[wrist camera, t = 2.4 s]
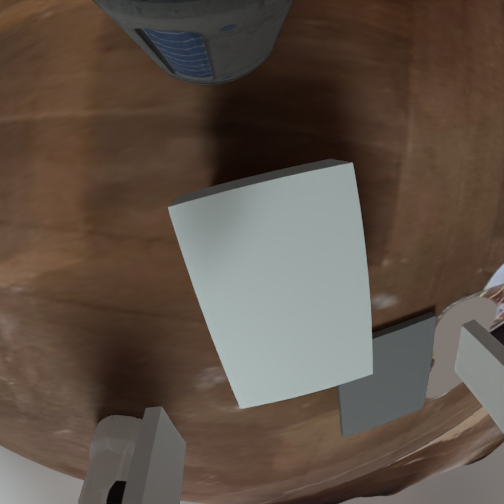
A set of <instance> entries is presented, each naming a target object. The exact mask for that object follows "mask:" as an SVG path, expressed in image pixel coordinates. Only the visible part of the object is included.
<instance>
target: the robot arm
mask: <svg viewBox="0 0 504 504" xmlns="http://www.w3.org/2000/svg"><path fill="white" fill-rule="evenodd" d="M454 371H455V372H456V373H457V375H458V376H459V377H460V378H461V379H462V380H463V382H464V383H465V384H466V386H467V387H468V388H469V389H470V391H471V392H472V393H473V394H474V396H475V397H476V398H477V399H478V401H479V402H480V403H481V404H482V406H483V407H484V408H485V410H486V411H487V412H488V413H489V415H490V416H491V417H492V419H493V420H494V421H495V423H496V424H497V425H498V427H499V428H500V429H501V431H502V432H503V433H504V346H503V345H502V344H501V343H500V342H499V341H498V340H497V339H495V338H494V337H493V336H492V335H491V334H490V333H489V332H488V331H486V330H485V329H484V328H483V327H482V326H481V325H480V324H479V323H478V322H476V321H475V320H472V321H470V322H468V323H465V324H463V325H462V327H461V334H460V340H459V347H458V352H457V358H456V363H455V368H454ZM185 450H186V443H185V441H184V440H183V438H182V437H181V435H180V434H179V432H178V431H177V429H176V428H175V426H174V425H173V423H172V421H171V420H170V418H169V417H168V415H167V414H166V412H165V410H164V409H163V407H162V406H160V407H149V408H146V409H145V413H144V416H143V420H142V423H141V427H140V431H139V435H138V438H137V442H136V446H135V450H134V454H133V458H132V462H131V466H130V470H129V474H128V478H127V481H117V480H116V481H115V483H114V484H113V486H112V487H111V488H110V490H109V492H108V496H107V500H106V502H107V503H106V504H180V495H181V486H182V476H183V467H184V458H185Z"/></svg>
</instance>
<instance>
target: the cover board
mask: <svg viewBox="0 0 504 504" xmlns="http://www.w3.org/2000/svg"><path fill="white" fill-rule="evenodd" d="M168 210H169V213H170V216H171V220H172V223H173V226H174V229H175V232H176V236H177V239H178V242H179V245H180V248H181V251H182V254H183V257H184V260H185V263H186V266H187V269H188V272H189V275H190V278H191V281H192V284H193V287H194V290H195V292H196V295H197V298H198V301H199V304H200V306H201V309H202V312H203V315H204V318H205V320H206V323H207V326H208V328H209V331H210V334H211V336H212V339H213V342H214V344H215V347H216V349H217V352H218V355H219V357H220V360H221V362H222V365H223V367H224V370H225V372H226V375H227V377H228V380H229V382H230V385H231V387H232V390H233V392H234V394H235V397H236V399H237V402H238V404H239V406H240V409H243V408H248V407H253V406H258V405H263V404H267V403H272V402H276V401H281V400H285V399H289V398H293V397H297V396H301V395H305V394H309V393H313V392H316V391H320V390H323V389H327V388H330V387H334V386H337V385H341V384H344V383H347V382H350V381H353V380H356V379H359V378H362V377H365V376H368V375H371V374H373V351H372V323H371V305H370V291H369V279H368V268H367V258H366V248H365V240H364V231H363V224H362V216H361V209H360V203H359V196H358V190H357V184H356V178H355V172H354V167H353V162H347V161H341V160H335V159H327V160H322V161H317V162H312V163H308V164H303V165H298V166H294V167H289V168H285V169H280V170H276V171H272V172H267V173H263V174H259V175H255V176H251V177H247V178H243V179H239V180H235V181H231V182H227V183H223V184H219V185H215V186H212V187H208V188H204V189H201V190H197V191H193V192H190V193H186V194H183V195H180V196H179V197H178V198H177V199H176V200H175V201H174V202H173V203H172V204H171V205H170V206H169V207H168Z"/></svg>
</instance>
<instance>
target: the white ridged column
mask: <svg viewBox="0 0 504 504" xmlns="http://www.w3.org/2000/svg"><path fill="white" fill-rule="evenodd" d="M142 420H143V419H140V418H138V419H137V418H136V417H132V416H124V415H111V416H108V417H106V418H104V419H102V420H101V421H100V422H99V423H98V424H97V427H96V430H95V432H94V435H93V438H92V440H91V443H90V450H89V461H90V465H89V468H88V471H87V474H86V477H85V481H84V484H83V487H82V490H81V494H80V497H79V500H78V503H79V504H106V503H107V502H106V500H107V496H108V492H109V490H110V488H111V487H112V486H113V484H114V483H115V481H116V480H117V481H127V478H128V474H129V470H130V466H131V462H132V458H133V454H134V450H135V446H136V442H137V438H138V435H139V431H140V427H141V423H142Z"/></svg>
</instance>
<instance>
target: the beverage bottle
mask: <svg viewBox="0 0 504 504" xmlns="http://www.w3.org/2000/svg"><path fill="white" fill-rule="evenodd" d="M93 1H94V2H95V3H96V4H97V5H98V6H99V7H100V8H101V9H102V10H103V11H104V12H105V13H106V14H107V15H109V16H110V17H111V18H112V19H113V20H114V21H115V22H116V23H117V24H118V25H119V26H120V27H121V28H122V29H123V30H124V31H125V32H126V33H127V34H128V35H129V36H130V37H131V38H132V39H133V40H134V41H135V42H136V43H137V44H138V45H139V46H140V47H141V48H142V49H143V50H144V51H145V52H146V53H147V54H148V56H149V57H150V58H151V59H152V60H153V61H154V62H155V63H156V64H157V65H158V66H159V67H160V68H161V69H162V70H163V71H165V72H166V73H168V74H169V75H170V76H172V77H174V78H176V79H179V80H181V81H183V82H188V83H192V84H198V85H216V84H223V83H227V82H231V81H235V80H237V79H239V78H241V77H244V76H246V75H248V74H249V73H251V72H252V71H254V70H255V69H257V68H258V67H259V66H260V65H261V64H262V63H263V62H264V61H265V60H266V59H267V57H268V56H269V54H270V53H271V51H272V50H273V48H274V46H275V43H276V41H277V38H278V36H279V32H280V29H281V27H282V25H283V23H284V20H285V18H286V16H287V14H288V12H289V10H290V7H291V5H292V3H293V1H294V0H93Z"/></svg>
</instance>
